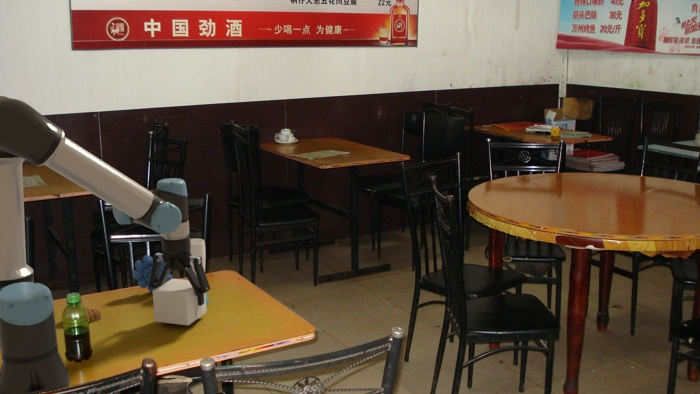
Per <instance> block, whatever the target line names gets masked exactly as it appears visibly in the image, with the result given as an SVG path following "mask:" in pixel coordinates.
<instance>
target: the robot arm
mask: <svg viewBox="0 0 700 394" xmlns="http://www.w3.org/2000/svg"><path fill="white" fill-rule="evenodd" d="M25 161H28V162H30V163H31V164H33V165H34V166H36V167H41V166H46V167H47V168H49V169H51V170H52V171H54V172H56V173H57V174H59V175H60V176H62V177H64V178H65V179H67V180H69V181H70V182H72V183H74V184H76V185H77V186H79V187H80V188H82V189H84V190H85V191H87V192H89V193H91V194H92V195H94V196H96V197H97V198H98V199H101V200H103V201H104V202H106V203H108V204H109V205H111V207H112V214H113V217H114V219H115V221H116V222H117V223H118V224H119V225H131V224H139V225H141V226H143V227H146V228H148V229H151V230H152V231H154V232H156V233H157V234H160V236H161V237H162V238H161V251H162V253H161V252H160V251H158V252H156V253H155V254H153V255H152V258H153V267H152V271H151V276H150V281H149V287H150V288H154V289H156V288H158V287H159V286H161V285H163V284H164V283H165V282H166V280H167V278H168V276H169V274H170V275H171V272H172V271H180V272H181V273H182V274H183V275H185V278H186V280H187V279H188V280H189V282H190V284H191V285H192V287H193V289H194V291H195V292H196V294H194V307H195V318H198V317H199V318H200V317H202V316H203V315H202V305H203V304H204V293H206V294H207V292H210V290H211V287H210V283H209V281H208V278H207V275H206V270H205V271H204V268H203V266H202V257H201V256H198V257H195V256H192V255H191V253H190V248H191V245H190V239H191V237H190V236H189V235H190V222H189V221H190V220H189V219H190V218H189V206H188V205H189V204H188V189H187V188H188V187H187V184H186V181H185V180H184V179H182V178H178V177H173V178H172V177H171V178H163V179H160V180H158V181H157V183H156V188H155V189H152V190H151V189H150V190H149V189H147V188H146V187H144V186H143V185H141V184H139V183H138V182H136V181H135V180H133V179H131V178H130V177H128V176H127V175H125V174H124V173H122V172H121V171H119V170H118V169H116V168H114V167H112V166H111V165H110V164H108V163H107V162H105V161H103V160H102V159H100V158H99V157H98V156H96V155H94V154H92V153H91V152H89V151H88V150H86V149H85V148H83V147H82V146H80V145H79V144H77V143H75V142H74V141H73V140H71V139H70V138H67V137H66V136H65V132H64V129H63V128H61V127H59V126H58V125H57V124H55V123H53V122H52V121H51V120H50V119H48V118H47V117H45V116H44V115H43V114H41V113H40V112H39V111H37V110H36V109H35V108H34V107H33V106H31V105H30V104H28V103H27V102H25V101H23V100H21V99H16V98H12V97H11V98H10V97H9V96H8V97H7V96H6V95H5V96H4V95H3V96H1V95H0V354H1V365H0V394H39V393H42V392H49V391H54V390H58V389H62V388H65V387H67V388H68V387H69V386H70V385H71V377H70V372H69V370H68V368H67V367H66V366H65V365H66V364H65V362H64V360H63V358H62V356H61V354H60V352H59V346H58V345H59V344H58V336H57V326H56V319H55V318H56V317H55V309H54V308H55V302H54V299H53V295H52V292H51V290H50V288H48V286H46V285H44V284H43V283H39V282H35V280H34V279H35V278H34V269H33V268H32V267H31V266H30V265H28V263H27V253H26V252H27V251H26V249H27V248H26V228H25V225H26V224H25V202H24V201H25V200H24V179H23V175H24V174H23V163H24V162H25ZM162 260H163V262H165V263H164V264H165V266H164V268H163V272H162V274H161V276H160V278H159V273H160V268H161V263H162ZM190 261H192V264H193V265H194V270H195V273H196V275H197V276H196V275H195V273H194V271H193V267H192V266H191V264H190ZM186 268H187V269H186ZM158 278H159V280H158ZM201 315H202V316H201ZM199 318H198V319H199Z"/></svg>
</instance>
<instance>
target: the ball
mask: <svg viewBox="0 0 700 394" xmlns="http://www.w3.org/2000/svg"><path fill="white" fill-rule="evenodd" d="M208 305H209V296H208V295H207V294H206V306H207V307H208Z"/></svg>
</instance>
